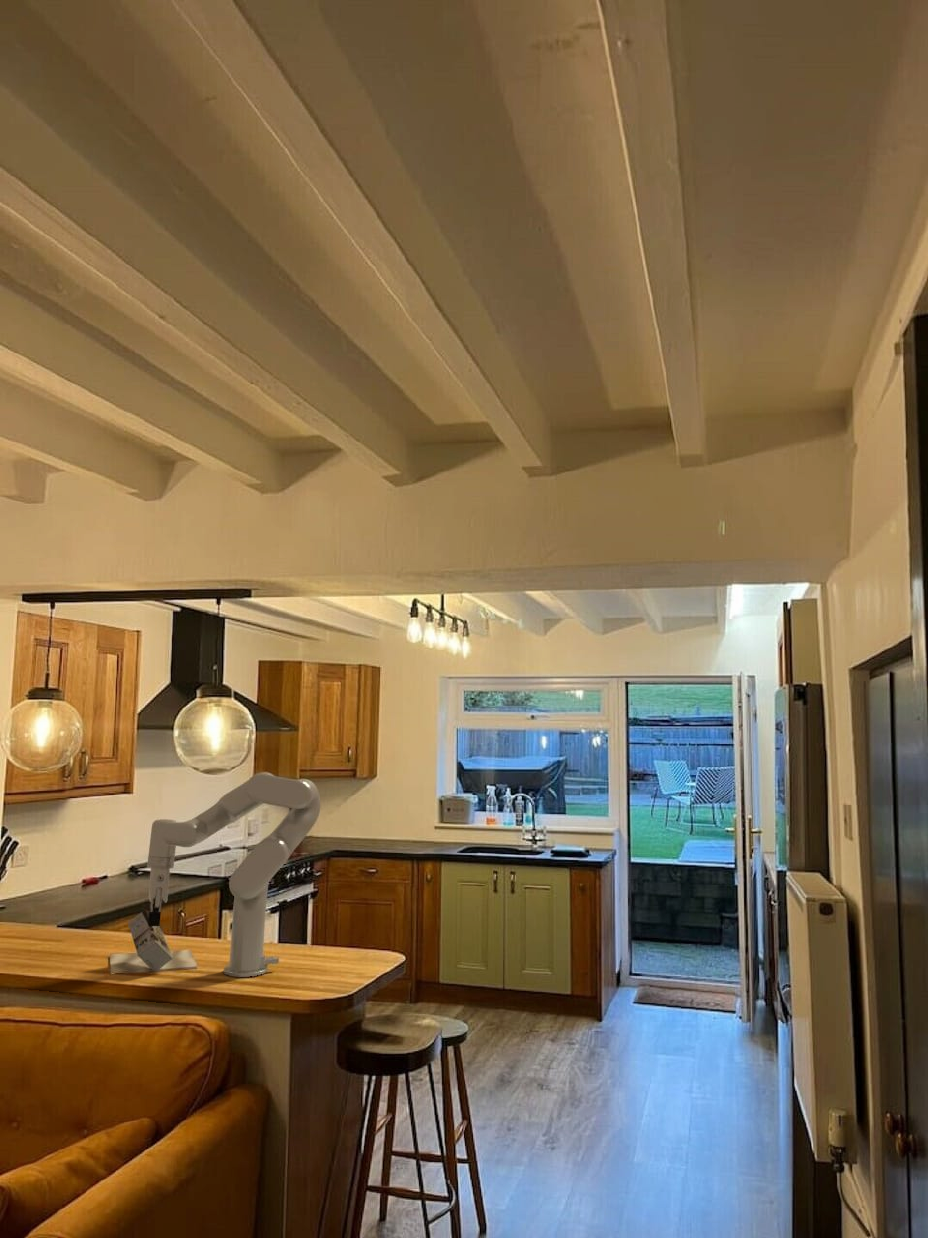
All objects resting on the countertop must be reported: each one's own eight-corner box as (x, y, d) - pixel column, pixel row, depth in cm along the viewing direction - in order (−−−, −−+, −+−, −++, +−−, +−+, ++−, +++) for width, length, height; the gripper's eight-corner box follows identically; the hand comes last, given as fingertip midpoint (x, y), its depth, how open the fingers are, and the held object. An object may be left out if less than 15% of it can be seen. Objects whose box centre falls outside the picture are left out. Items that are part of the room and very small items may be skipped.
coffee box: (156, 941, 251) (145, 908, 264) (137, 956, 250) (126, 921, 263) (173, 959, 256) (161, 925, 269) (154, 973, 255) (143, 938, 268)
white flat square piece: (190, 951, 280) (190, 949, 280) (197, 968, 260) (197, 966, 260) (109, 956, 271) (110, 954, 271) (110, 974, 251) (110, 972, 251)
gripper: (176, 866, 255) (168, 931, 252) (171, 858, 269) (164, 920, 266) (149, 865, 252) (141, 931, 249) (146, 858, 266) (138, 920, 263)
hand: (153, 925), depth 258 cm, fingers closed
